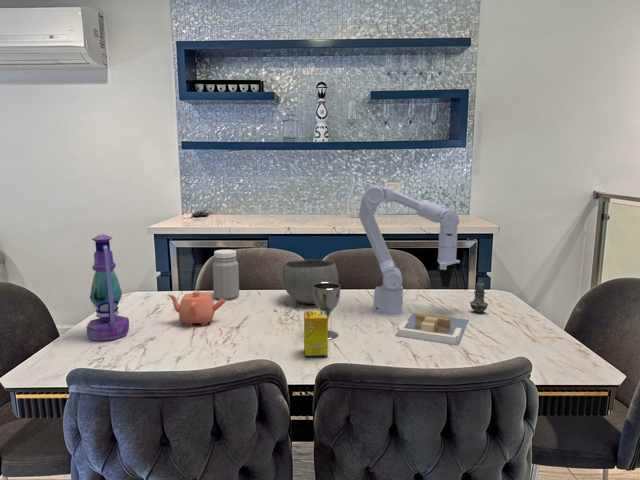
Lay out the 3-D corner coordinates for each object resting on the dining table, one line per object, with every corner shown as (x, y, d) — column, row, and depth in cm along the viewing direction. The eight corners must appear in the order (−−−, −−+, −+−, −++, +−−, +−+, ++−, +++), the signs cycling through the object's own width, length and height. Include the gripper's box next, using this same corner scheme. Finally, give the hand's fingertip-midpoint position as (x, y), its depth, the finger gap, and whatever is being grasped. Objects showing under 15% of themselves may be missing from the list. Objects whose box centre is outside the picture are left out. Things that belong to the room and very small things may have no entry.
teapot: (208, 313, 153) (206, 284, 152) (227, 321, 145) (226, 291, 143) (168, 323, 143) (166, 292, 142) (186, 332, 135) (184, 300, 133)
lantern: (82, 333, 134) (74, 233, 130) (123, 325, 141) (117, 230, 137) (92, 346, 124) (83, 238, 119) (136, 337, 131) (129, 235, 126)
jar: (236, 301, 168) (235, 253, 165) (210, 300, 168) (208, 253, 165) (241, 294, 178) (240, 249, 175) (216, 293, 178) (215, 248, 175)
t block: (417, 324, 140) (417, 312, 140) (450, 329, 136) (450, 316, 136) (409, 335, 131) (409, 322, 130) (444, 340, 127) (445, 327, 126)
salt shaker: (488, 317, 150) (491, 281, 148) (470, 315, 151) (472, 281, 149) (486, 311, 156) (488, 277, 154) (468, 310, 157) (470, 277, 155)
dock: (396, 335, 131) (396, 328, 131) (403, 326, 139) (404, 320, 138) (457, 344, 124) (457, 337, 124) (461, 334, 132) (461, 328, 131)
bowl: (348, 299, 170) (348, 260, 168) (319, 313, 153) (319, 270, 151) (303, 291, 181) (303, 255, 179) (271, 304, 164) (271, 263, 162)
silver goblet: (343, 331, 136) (343, 283, 133) (335, 341, 128) (335, 290, 126) (318, 328, 138) (318, 281, 136) (309, 337, 131) (308, 287, 128)
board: (394, 337, 131) (394, 335, 131) (413, 314, 152) (413, 312, 152) (458, 347, 123) (458, 345, 123) (468, 321, 145) (468, 319, 145)
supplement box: (303, 349, 122) (303, 310, 120) (325, 349, 123) (325, 310, 121) (304, 358, 116) (304, 317, 114) (327, 358, 117) (328, 317, 115)
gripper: (456, 250, 139) (454, 293, 141) (463, 244, 152) (461, 283, 154) (433, 249, 142) (432, 291, 144) (442, 242, 155) (440, 281, 157)
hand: (445, 286), depth 149 cm, fingers closed
